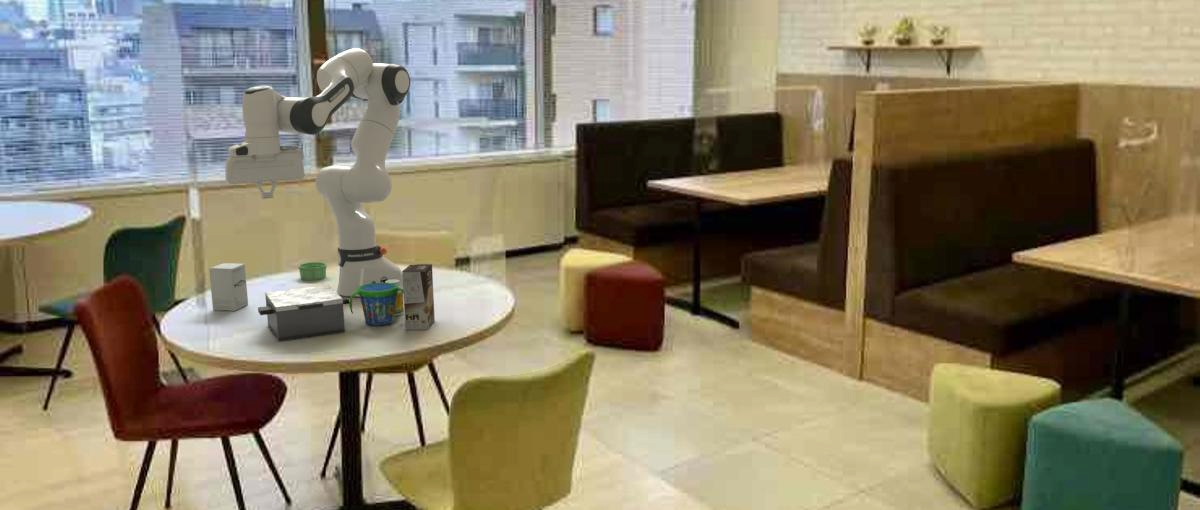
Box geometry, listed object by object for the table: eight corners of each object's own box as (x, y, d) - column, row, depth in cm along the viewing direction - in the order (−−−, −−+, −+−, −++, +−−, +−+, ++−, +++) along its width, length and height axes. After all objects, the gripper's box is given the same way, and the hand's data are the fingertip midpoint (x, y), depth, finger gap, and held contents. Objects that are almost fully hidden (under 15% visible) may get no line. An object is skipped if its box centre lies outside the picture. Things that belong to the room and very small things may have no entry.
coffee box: (428, 330, 260) (425, 271, 257) (404, 330, 261) (401, 271, 257) (435, 320, 269) (432, 263, 266) (412, 320, 270) (409, 263, 266)
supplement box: (235, 311, 282) (231, 268, 279) (212, 310, 283) (207, 268, 281) (249, 305, 289) (245, 263, 286) (226, 304, 290) (222, 262, 288)
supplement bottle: (382, 312, 278) (380, 280, 276) (401, 310, 280) (399, 277, 278) (387, 317, 273) (385, 284, 271) (406, 314, 276) (404, 281, 274)
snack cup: (408, 315, 275) (406, 280, 273) (409, 325, 265) (407, 289, 263) (350, 319, 271) (348, 284, 269) (350, 330, 261) (347, 293, 259)
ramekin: (323, 280, 318) (322, 267, 317) (295, 281, 318) (294, 268, 317) (330, 274, 327) (329, 261, 326) (304, 274, 327) (303, 262, 326)
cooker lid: (329, 289, 273) (328, 284, 272) (344, 304, 256) (344, 300, 256) (265, 296, 265) (265, 292, 265) (277, 313, 248) (277, 309, 248)
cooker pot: (341, 315, 276) (339, 288, 274) (356, 330, 261) (354, 301, 259) (256, 327, 265) (254, 298, 264) (266, 343, 251) (263, 313, 249)
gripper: (300, 144, 270) (304, 193, 273) (222, 148, 261) (226, 199, 264) (305, 146, 265) (308, 196, 268) (224, 150, 256) (229, 202, 259)
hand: (267, 198), depth 266 cm, fingers closed
